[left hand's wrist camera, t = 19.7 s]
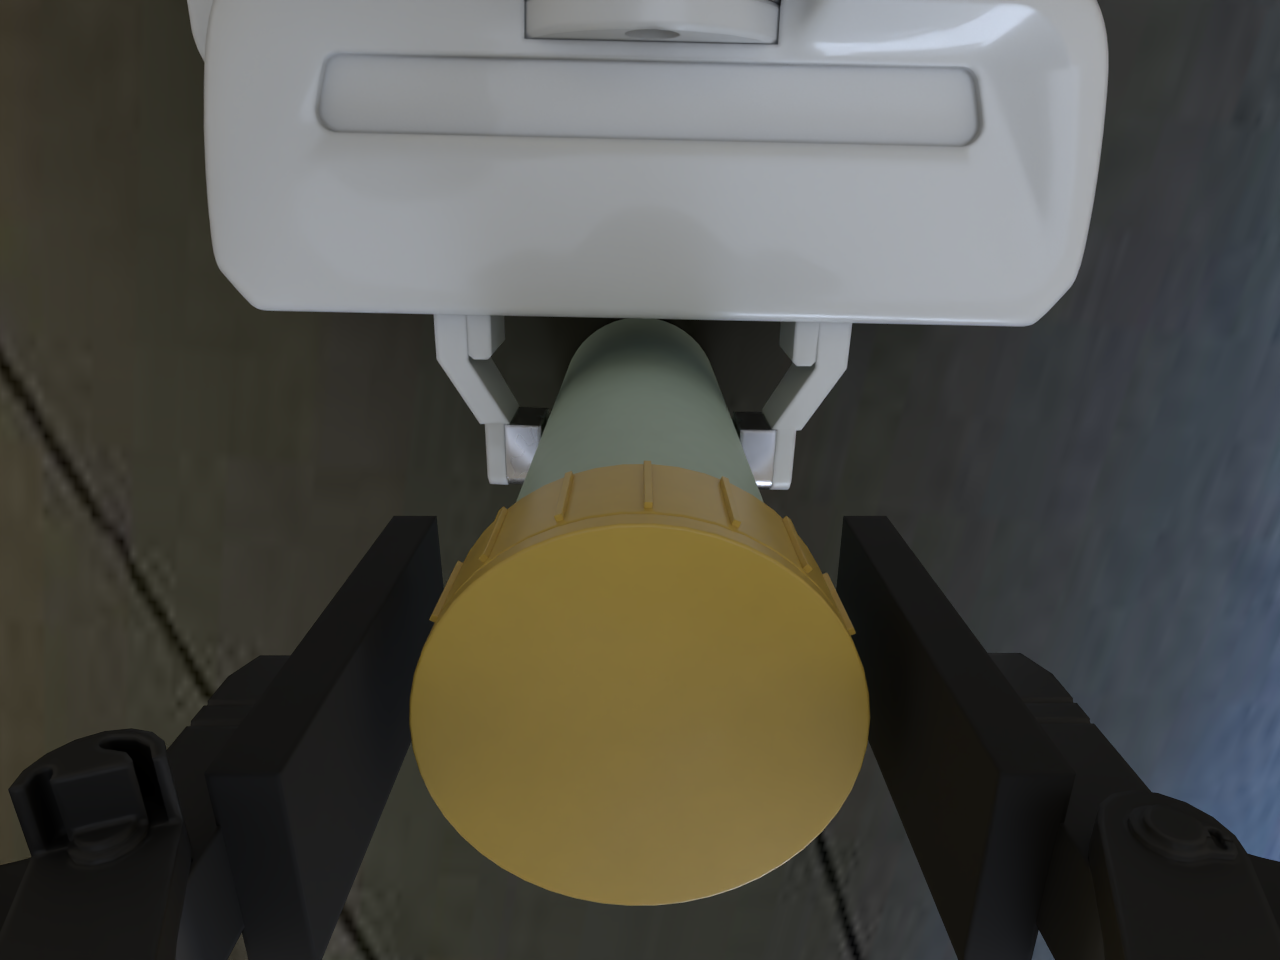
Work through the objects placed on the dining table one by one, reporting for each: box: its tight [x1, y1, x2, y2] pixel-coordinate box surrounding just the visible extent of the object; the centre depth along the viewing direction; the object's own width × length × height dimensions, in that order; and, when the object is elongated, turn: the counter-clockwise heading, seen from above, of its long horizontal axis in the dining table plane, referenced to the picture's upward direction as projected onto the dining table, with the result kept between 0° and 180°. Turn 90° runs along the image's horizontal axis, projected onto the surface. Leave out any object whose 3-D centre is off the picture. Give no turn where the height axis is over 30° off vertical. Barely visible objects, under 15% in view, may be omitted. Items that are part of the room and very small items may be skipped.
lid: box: [409, 461, 870, 906], centre depth 11 cm, size 6×6×2 cm
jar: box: [516, 318, 764, 503], centre depth 19 cm, size 5×5×18 cm
